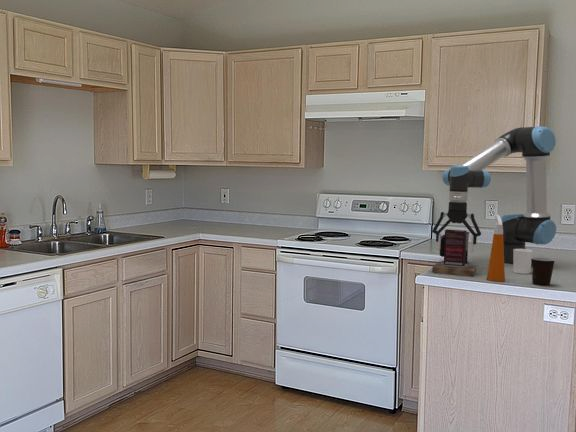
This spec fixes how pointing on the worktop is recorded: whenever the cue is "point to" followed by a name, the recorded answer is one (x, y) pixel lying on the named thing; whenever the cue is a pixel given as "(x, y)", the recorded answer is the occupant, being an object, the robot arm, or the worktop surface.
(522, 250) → the white cup
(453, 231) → the supplement box
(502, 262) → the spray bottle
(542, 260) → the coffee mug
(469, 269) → the walnut board
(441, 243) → the black pitcher
